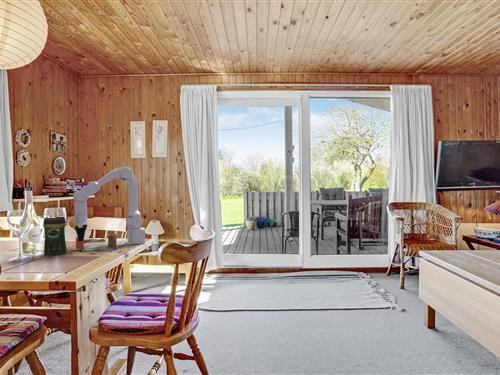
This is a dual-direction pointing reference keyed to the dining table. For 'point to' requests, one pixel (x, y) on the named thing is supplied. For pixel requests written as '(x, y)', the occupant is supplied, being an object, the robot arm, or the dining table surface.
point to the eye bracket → (111, 245)
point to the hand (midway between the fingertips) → (81, 239)
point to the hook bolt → (81, 243)
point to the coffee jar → (54, 236)
